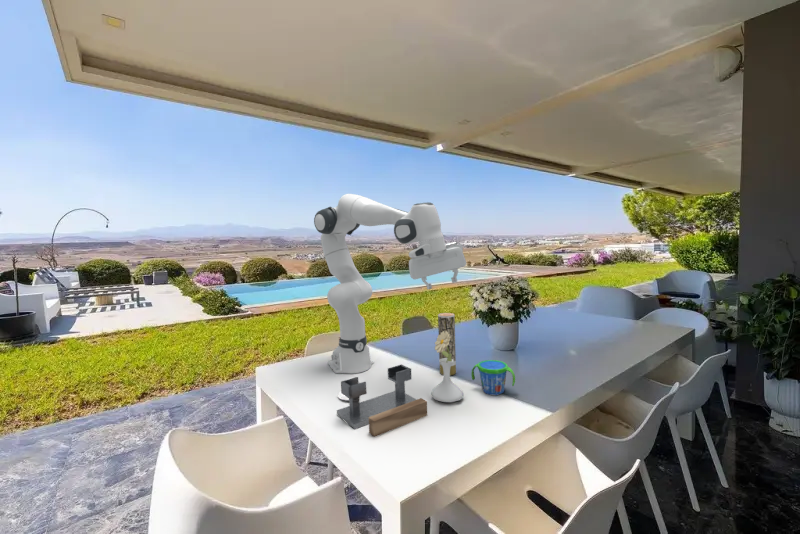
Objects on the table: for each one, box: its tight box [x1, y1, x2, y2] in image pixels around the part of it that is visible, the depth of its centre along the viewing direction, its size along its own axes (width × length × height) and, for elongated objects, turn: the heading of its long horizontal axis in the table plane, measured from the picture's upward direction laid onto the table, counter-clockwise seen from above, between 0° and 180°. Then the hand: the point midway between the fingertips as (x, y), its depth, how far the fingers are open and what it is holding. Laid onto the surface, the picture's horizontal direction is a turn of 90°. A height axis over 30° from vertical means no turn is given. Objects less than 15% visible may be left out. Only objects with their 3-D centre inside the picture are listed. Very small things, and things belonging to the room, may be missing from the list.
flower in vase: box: [430, 331, 464, 403], centre depth 126 cm, size 13×11×25 cm
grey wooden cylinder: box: [437, 312, 457, 377], centre depth 151 cm, size 7×7×25 cm
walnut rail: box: [368, 397, 428, 438], centre depth 111 cm, size 3×20×5 cm, turn 126°
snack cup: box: [470, 359, 516, 396], centre depth 132 cm, size 16×10×10 cm
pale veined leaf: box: [337, 390, 346, 401], centre depth 132 cm, size 8×12×2 cm, turn 28°
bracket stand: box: [336, 364, 418, 430], centre depth 121 cm, size 12×25×12 cm, turn 126°
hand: (442, 285), depth 128 cm, fingers open, 8 cm apart
